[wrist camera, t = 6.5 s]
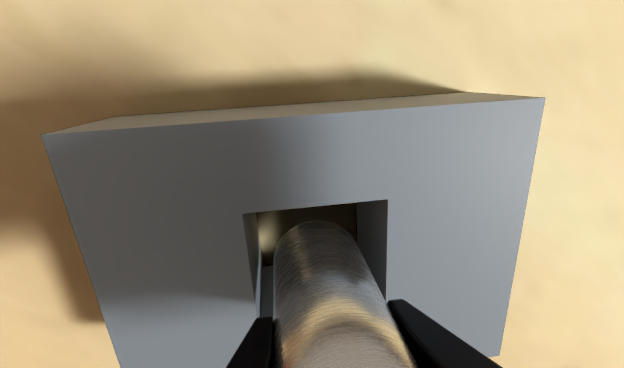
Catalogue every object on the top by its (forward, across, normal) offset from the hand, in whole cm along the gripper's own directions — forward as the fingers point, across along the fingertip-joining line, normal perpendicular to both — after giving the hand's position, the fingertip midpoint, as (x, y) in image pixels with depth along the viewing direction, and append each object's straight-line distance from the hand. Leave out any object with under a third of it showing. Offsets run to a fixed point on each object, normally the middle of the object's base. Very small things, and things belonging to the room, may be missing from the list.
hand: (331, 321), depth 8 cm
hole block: (+6, 0, 0) cm, 6 cm away
